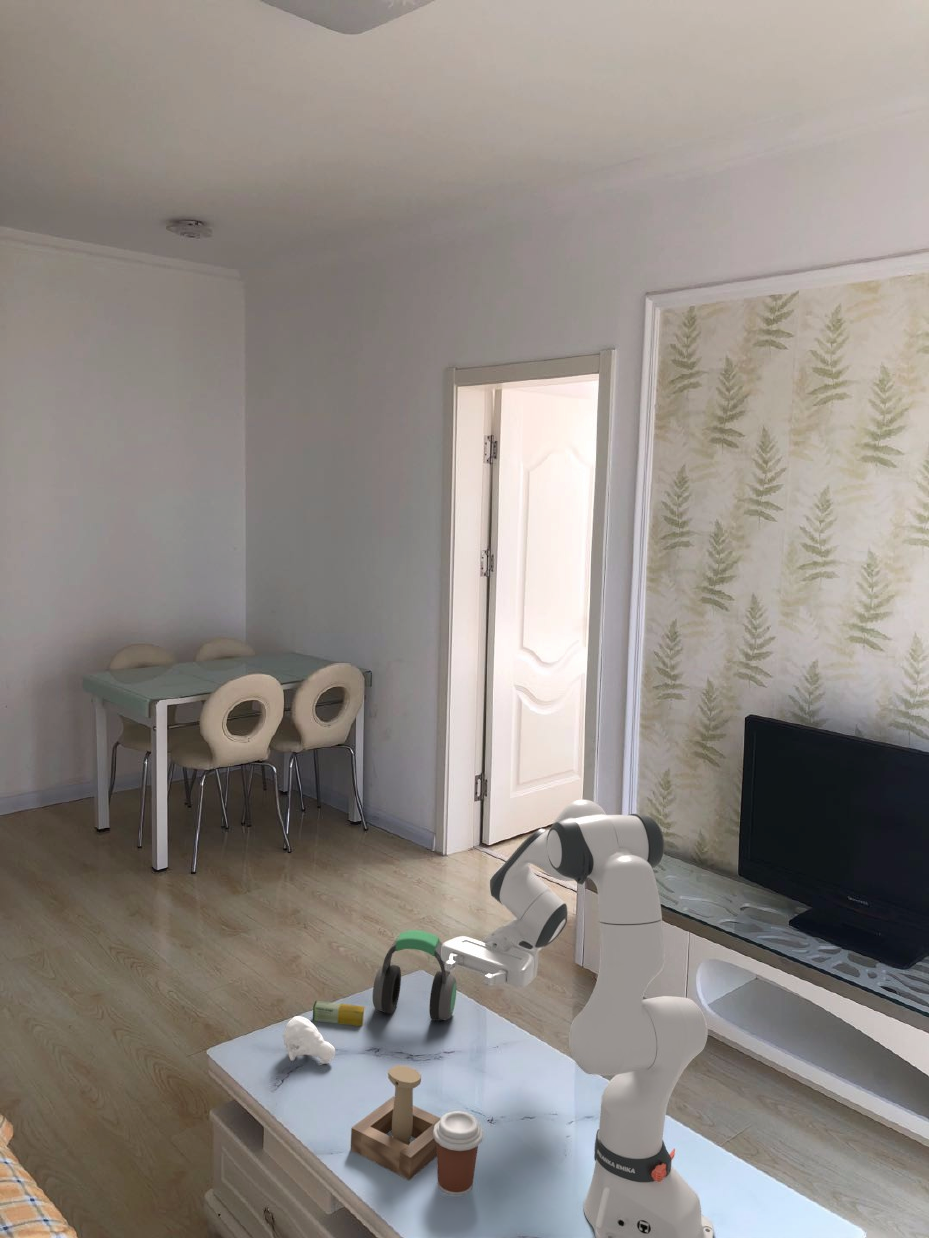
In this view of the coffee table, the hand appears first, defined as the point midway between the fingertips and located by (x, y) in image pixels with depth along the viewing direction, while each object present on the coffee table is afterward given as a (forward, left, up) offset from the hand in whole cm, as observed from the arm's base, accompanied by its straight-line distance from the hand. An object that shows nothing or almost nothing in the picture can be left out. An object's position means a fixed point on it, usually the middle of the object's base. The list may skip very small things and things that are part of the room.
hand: (466, 974), depth 204 cm
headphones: (+30, -24, -29) cm, 48 cm away
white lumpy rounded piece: (+36, +6, -29) cm, 46 cm away
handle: (+2, +17, -29) cm, 34 cm away
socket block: (+2, +18, -29) cm, 34 cm away
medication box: (+41, -10, -29) cm, 52 cm away
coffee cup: (-12, +20, -29) cm, 37 cm away
